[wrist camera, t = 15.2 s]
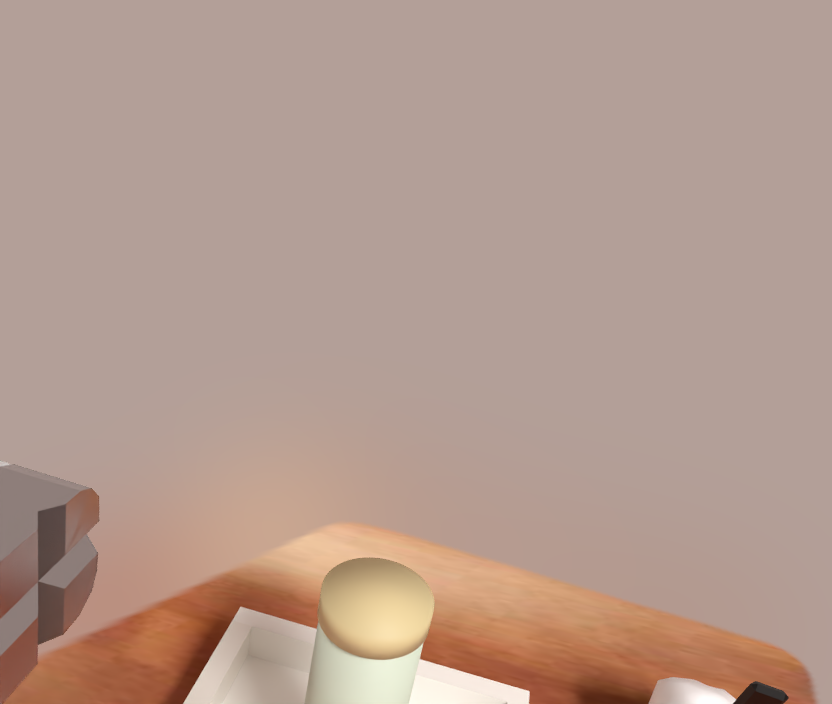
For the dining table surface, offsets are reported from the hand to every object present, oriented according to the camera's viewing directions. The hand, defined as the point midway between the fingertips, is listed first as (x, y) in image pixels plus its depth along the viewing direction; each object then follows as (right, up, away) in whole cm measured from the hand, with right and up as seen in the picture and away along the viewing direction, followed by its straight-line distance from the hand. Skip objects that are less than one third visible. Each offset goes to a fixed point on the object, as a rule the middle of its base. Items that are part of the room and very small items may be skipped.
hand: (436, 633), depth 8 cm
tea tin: (-4, -19, +29) cm, 35 cm away
